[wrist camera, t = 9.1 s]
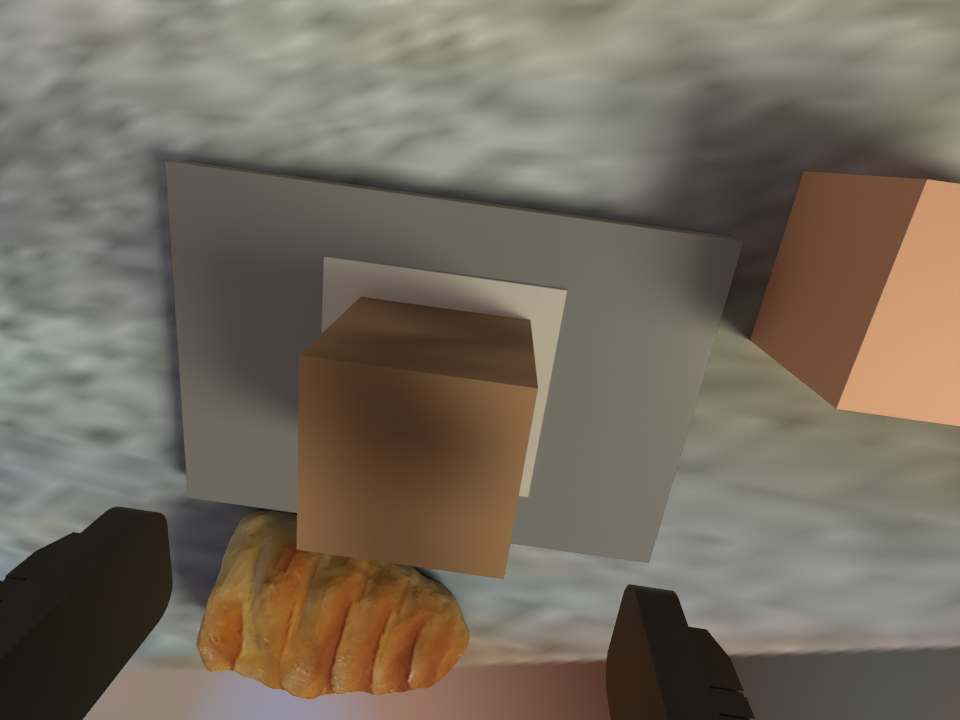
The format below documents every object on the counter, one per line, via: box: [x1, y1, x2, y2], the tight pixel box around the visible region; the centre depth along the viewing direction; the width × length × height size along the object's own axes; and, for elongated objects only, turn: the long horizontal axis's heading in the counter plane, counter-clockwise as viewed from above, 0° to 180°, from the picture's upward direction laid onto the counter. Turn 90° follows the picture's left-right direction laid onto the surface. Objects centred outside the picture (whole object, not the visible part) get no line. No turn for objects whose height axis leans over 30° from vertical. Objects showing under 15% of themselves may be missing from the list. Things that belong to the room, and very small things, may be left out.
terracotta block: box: [750, 171, 960, 426], centre depth 14 cm, size 5×5×5 cm
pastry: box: [197, 510, 469, 699], centre depth 20 cm, size 9×7×4 cm
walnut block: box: [297, 297, 538, 579], centre depth 15 cm, size 5×5×5 cm
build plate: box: [165, 161, 744, 563], centre depth 18 cm, size 16×11×1 cm
